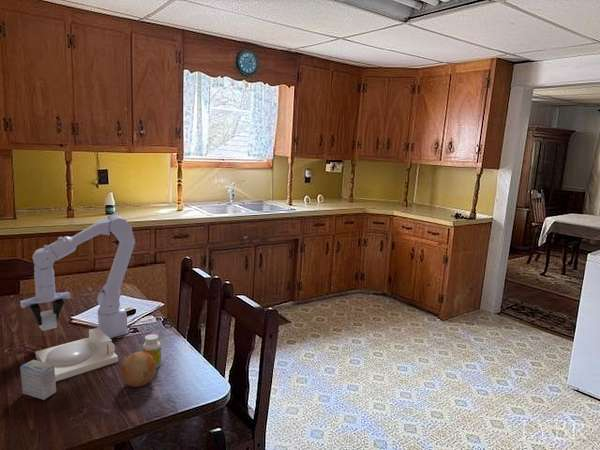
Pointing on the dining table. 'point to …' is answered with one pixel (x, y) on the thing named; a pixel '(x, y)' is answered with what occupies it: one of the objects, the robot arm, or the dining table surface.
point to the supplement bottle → (153, 348)
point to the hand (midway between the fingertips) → (47, 322)
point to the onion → (138, 369)
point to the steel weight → (48, 320)
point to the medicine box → (38, 379)
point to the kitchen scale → (80, 355)
